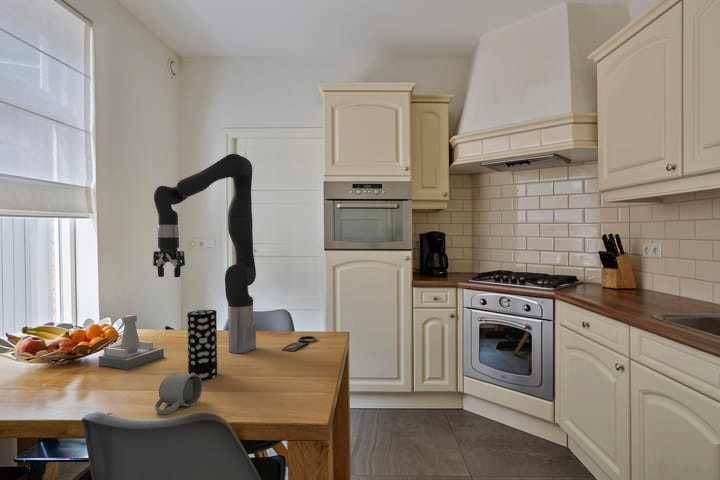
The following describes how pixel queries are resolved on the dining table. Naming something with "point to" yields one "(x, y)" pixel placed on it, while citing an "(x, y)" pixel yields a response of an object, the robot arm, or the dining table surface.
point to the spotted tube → (202, 343)
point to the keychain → (299, 343)
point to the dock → (130, 355)
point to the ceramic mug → (179, 392)
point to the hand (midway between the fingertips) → (169, 277)
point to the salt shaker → (130, 334)
